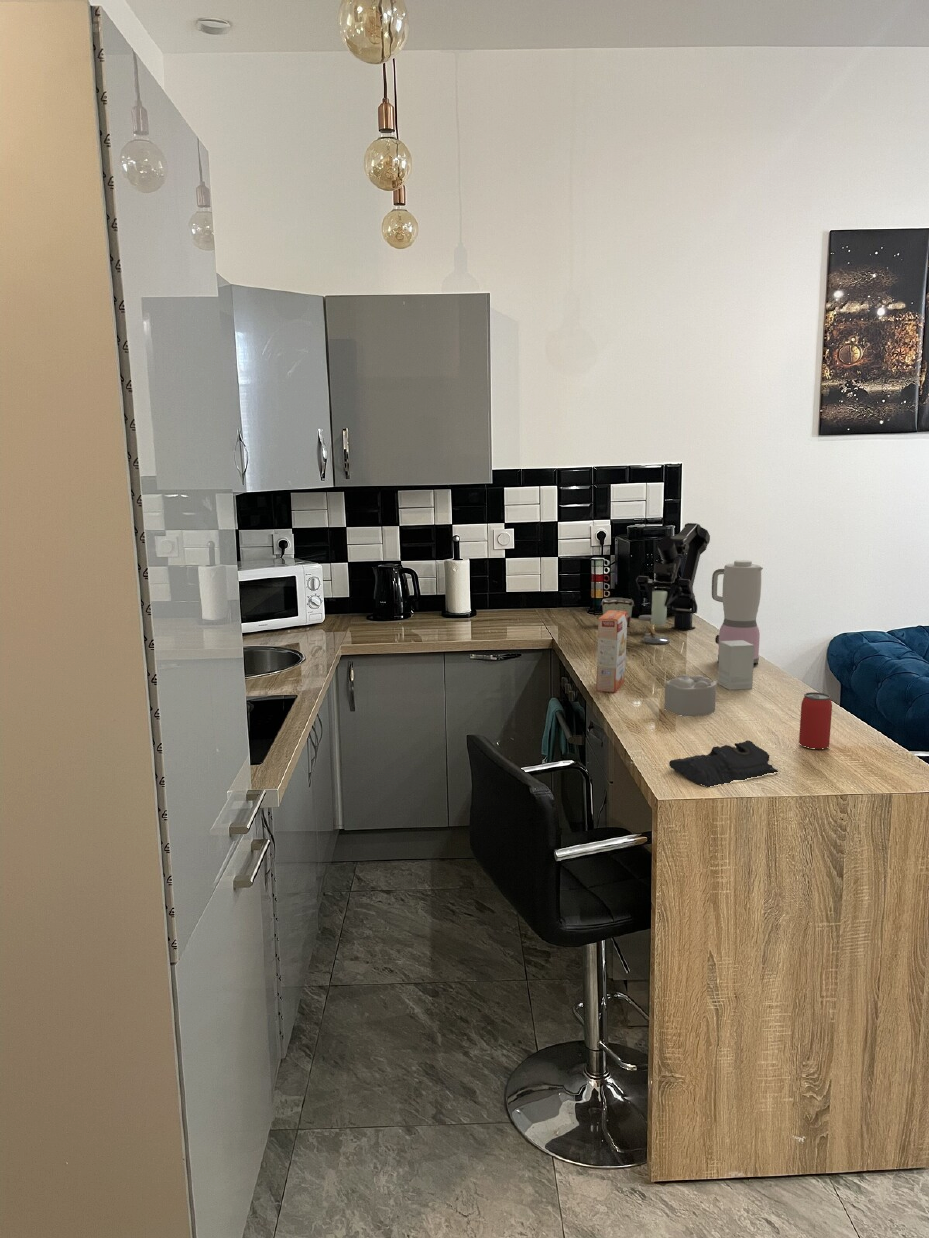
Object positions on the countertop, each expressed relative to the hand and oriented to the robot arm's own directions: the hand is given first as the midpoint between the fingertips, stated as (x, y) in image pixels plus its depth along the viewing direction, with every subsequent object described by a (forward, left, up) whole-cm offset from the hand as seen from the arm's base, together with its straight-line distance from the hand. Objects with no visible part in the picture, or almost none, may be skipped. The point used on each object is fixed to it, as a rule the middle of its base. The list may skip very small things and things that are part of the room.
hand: (658, 605), depth 322 cm
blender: (+4, +33, -13) cm, 36 cm away
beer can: (+58, +94, -13) cm, 111 cm away
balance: (-7, -7, -13) cm, 16 cm away
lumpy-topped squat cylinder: (+56, +57, -14) cm, 81 cm away
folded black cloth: (+87, +90, -14) cm, 126 cm away
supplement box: (+27, +51, -13) cm, 59 cm away
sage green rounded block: (-1, 0, -7) cm, 7 cm away
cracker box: (+54, +29, -13) cm, 63 cm away
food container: (-14, -30, -13) cm, 36 cm away
